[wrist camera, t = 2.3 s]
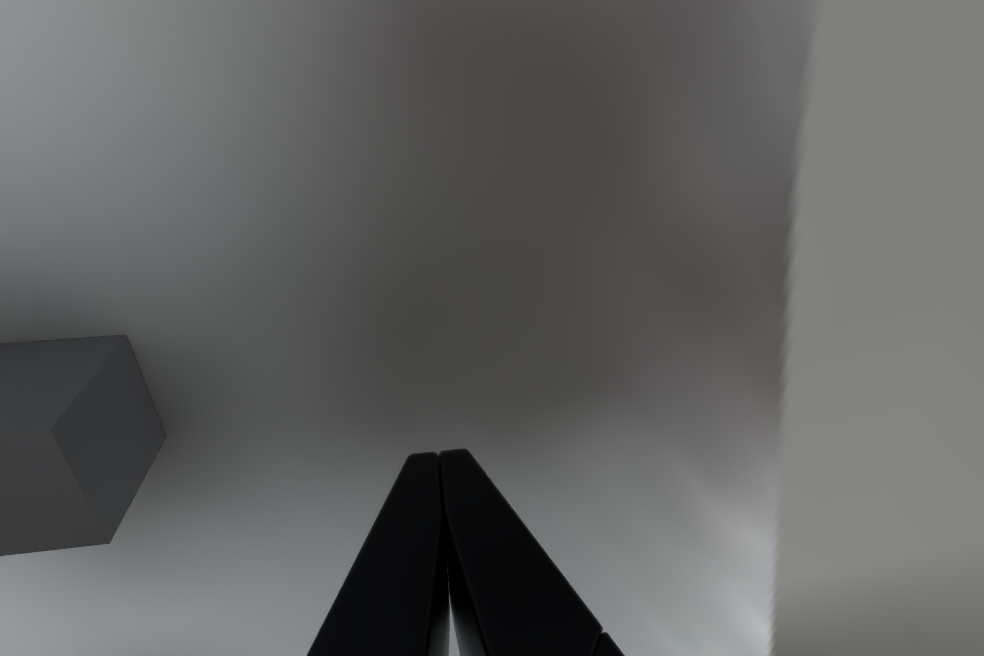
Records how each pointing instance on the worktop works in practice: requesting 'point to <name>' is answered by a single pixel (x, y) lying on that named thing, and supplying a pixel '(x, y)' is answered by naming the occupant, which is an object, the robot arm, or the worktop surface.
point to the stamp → (71, 441)
